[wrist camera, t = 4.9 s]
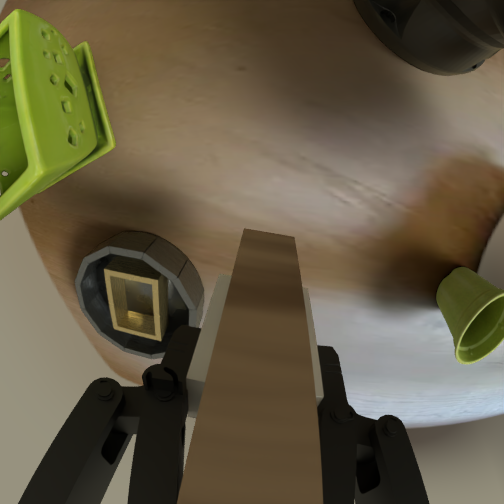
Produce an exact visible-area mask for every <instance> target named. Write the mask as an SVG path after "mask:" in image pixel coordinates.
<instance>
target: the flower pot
mask: <svg viewBox="0 0 504 504" xmlns="http://www.w3.org/2000/svg"><path fill="white" fill-rule="evenodd" d="M42 36H43V37H42ZM0 59H10V60H9V61H8V63H7V64H6V65H5V67H3V68H0V191H1V195H0V220H2V219H3V218H4V217H5V216H7V215H8V214H9V213H11V212H12V211H13V210H15V209H16V208H17V207H19V206H20V205H21V204H22V203H24V202H25V201H27V200H28V199H29V198H31V197H32V196H33V195H35V194H39V193H41V192H42V191H44V190H46V189H47V188H49V187H50V186H52V185H54V184H55V183H57V182H59V181H60V180H62V179H64V178H65V177H67V176H69V175H70V174H72V173H74V172H75V171H77V170H78V169H80V168H82V167H83V166H85V165H87V164H89V163H90V162H92V161H94V160H96V159H98V158H99V157H101V156H103V155H104V154H106V153H108V152H109V151H111V150H112V149H114V147H115V146H116V141H115V138H114V134H113V130H112V127H111V124H110V120H109V117H108V113H107V110H106V106H105V103H104V99H103V95H102V92H101V88H100V84H99V80H98V76H97V72H96V68H95V64H94V59H93V55H92V51H91V48H90V45H89V43H88V42H87V41H84V42H82V43H80V44H79V45H77V46H76V47H75V48H73V49H72V48H71V46H70V45H69V43H68V42H67V40H66V39H65V38H64V37H63V35H62V34H61V33H60V32H59V31H58V30H57V29H56V28H55V27H53V26H52V25H51V24H49V23H48V22H47V21H45V20H43V19H42V18H40V17H38V16H36V15H34V14H32V13H29V12H27V11H24V10H21V9H16V10H14V11H13V12H12V13H11V14H10V15H8V16H7V17H6V18H5V19H4V21H3V22H2V23H1V24H0ZM8 74H10V75H11V76H10V77H9V78H8V79H5V78H4V77H5V76H6V75H8ZM3 171H5V172H7V173H8V175H7V176H3V175H2V172H3Z"/></svg>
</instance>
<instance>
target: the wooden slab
mask: <svg viewBox="0 0 504 504" xmlns="http://www.w3.org/2000/svg"><path fill="white" fill-rule="evenodd" d="M177 504H323V489H322V469H321V452H320V438H319V426H318V414H317V403H316V393H315V383H314V374H313V365H312V356H311V348H310V340H309V332H308V324H307V317H306V309H305V302H304V295H303V289H302V282H301V275H300V269H299V263H298V256H297V250H296V244H295V238H294V237H291V236H285V235H280V234H274V233H268V232H262V231H257V230H251V229H245V228H244V231H243V235H242V239H241V242H240V246H239V250H238V254H237V258H236V261H235V265H234V269H233V273H232V277H231V281H230V284H229V288H228V292H227V296H226V300H225V304H224V308H223V312H222V316H221V320H220V324H219V328H218V332H217V336H216V340H215V344H214V348H213V352H212V356H211V360H210V364H209V368H208V372H207V376H206V380H205V384H204V388H203V392H202V397H201V401H200V405H199V409H198V413H197V417H196V422H195V426H194V430H193V434H192V439H191V443H190V447H189V452H188V456H187V460H186V465H185V470H184V474H183V478H182V482H181V487H180V491H179V496H178V500H177Z"/></svg>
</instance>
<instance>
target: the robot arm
mask: <svg viewBox="0 0 504 504" xmlns="http://www.w3.org/2000/svg"><path fill="white" fill-rule="evenodd" d="M354 3H355V5H356V7H357V9H358V11H359V13H360V14H361V16H362V18H363V19H364V21H365V22H366V23H367V25H368V26H369V27H370V29H371V30H372V31H373V32H374V33H375V35H376V36H377V37H378V38H379V39H380V40H381V41H382V42H383V43H384V44H385V45H386V46H387V47H388V48H390V49H391V50H392V51H393V52H394V53H396V54H397V55H398V56H400V57H401V58H402V59H404V60H405V61H407V62H409V63H410V64H412V65H414V66H416V67H418V68H419V69H422V70H424V71H427V72H429V73H433V74H437V75H443V76H451V75H458V74H465V73H469V72H471V71H474V70H476V69H477V68H478V67H480V66H481V65H482V64H483V62H484V61H485V60H486V59H488V58H490V57H492V56H493V55H494V54H496V53H497V52H498V51H499V50H500V49H503V48H504V0H354ZM231 277H232V276H230V275H224V274H219V277H218V280H217V283H216V286H215V289H214V292H213V295H212V298H211V301H210V304H209V307H208V310H207V313H206V317H205V320H204V323H203V326H202V329H201V328H196V327H191V326H186V325H181V326H180V327H179V328H178V329H176V330H175V331H174V333H173V335H172V338H171V340H170V342H169V345H168V347H167V350H166V352H165V355H164V357H163V359H162V362H161V364H155V365H152V366H150V367H148V368H147V369H146V370H145V371H144V373H143V375H142V379H143V384H144V385H143V386H138V387H122V386H120V384H119V383H118V382H117V381H115V380H114V379H111V378H107V377H106V378H99V379H97V380H94V381H93V382H92V383H91V384H90V385H89V387H88V388H87V390H86V391H85V393H84V394H83V396H82V397H81V399H80V400H79V402H78V403H77V405H76V406H75V408H74V409H73V411H72V412H71V414H70V415H69V417H68V418H67V420H66V422H65V423H64V425H63V426H62V428H61V430H60V431H59V433H58V434H57V436H56V437H55V439H54V441H53V442H52V444H51V446H50V447H49V449H48V451H47V452H46V454H45V456H44V457H43V459H42V461H41V463H40V464H39V466H38V468H37V470H36V471H35V473H34V475H33V477H32V478H31V480H30V482H29V484H28V486H27V488H26V490H25V491H24V493H23V495H22V497H21V499H20V501H19V503H18V504H100V503H101V501H102V499H103V497H104V494H105V492H106V490H107V488H108V486H109V484H110V481H111V479H112V477H113V475H114V473H115V471H116V469H117V467H118V464H119V462H120V460H121V458H122V456H123V454H124V452H125V450H126V448H127V446H128V444H129V442H130V440H131V438H132V436H133V434H137V436H136V442H135V449H134V455H133V462H132V469H131V477H130V485H129V495H128V504H177V500H178V496H179V491H180V487H181V482H182V478H183V465H184V445H185V428H186V427H185V421H186V417H187V413H188V417H193V418H196V417H197V413H198V409H199V405H200V401H201V397H202V392H203V388H204V384H205V380H206V376H207V372H208V368H209V364H210V360H211V356H212V352H213V348H214V344H215V340H216V336H217V332H218V328H219V324H220V320H221V316H222V312H223V308H224V304H225V300H226V296H227V292H228V288H229V284H230V281H231ZM302 289H303V295H304V302H305V309H306V317H307V324H308V332H309V340H310V348H311V356H312V365H313V374H314V383H315V393H316V403H317V414H318V426H319V438H320V452H321V469H322V489H323V504H354V499H355V504H429V500H428V497H427V494H426V490H425V486H424V483H423V480H422V476H421V473H420V470H419V467H418V464H417V461H416V458H415V455H414V452H413V449H412V446H411V443H410V440H409V437H408V435H407V432H406V429H405V426H404V424H403V423H402V421H401V420H400V419H399V418H397V417H395V416H393V415H384V416H382V417H380V418H379V419H378V420H374V419H371V418H367V417H363V416H361V415H358V414H357V413H356V412H355V410H354V409H353V408H352V407H351V406H350V405H349V404H348V402H347V397H346V392H345V386H344V381H343V376H342V374H341V373H342V371H341V367H340V361H339V357H338V354H337V353H336V351H335V350H334V349H333V347H330V346H320V345H317V342H316V335H315V329H314V322H313V316H312V310H311V304H310V298H309V293H308V288H303V287H302Z"/></svg>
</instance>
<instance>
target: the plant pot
mask: <svg viewBox="0 0 504 504" xmlns="http://www.w3.org/2000/svg"><path fill="white" fill-rule="evenodd" d="M436 301H437V304H438V306H439V308H440V310H441V312H442V314H443V316H444V318H445V320H446V323H447V325H448V327H449V329H450V332H451V334H452V336H453V341H454V346H455V357H456V359H457V361H458V362H459V363H461V364H472V363H475V362H477V361H479V360H481V359H483V358H484V357H486V356H487V355H489V354H490V353H491V352H492V351H493V350H495V349H496V348H497V347H498V346H499V344H500V343H501V342H502V341H503V340H504V290H502V289H498V288H497V287H495V286H494V285H492V284H491V283H489V282H488V281H486V280H485V279H483V278H482V277H480V276H479V275H478V274H476V273H475V272H473V271H472V270H470V269H468V268H466V267H459V268H456V269H454V270H453V271H452V272H451V273H450V275H448V276H447V277H446V278H444V279H443V280H442V282H441V283H440V285H439V287H438V290H437V295H436Z"/></svg>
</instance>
